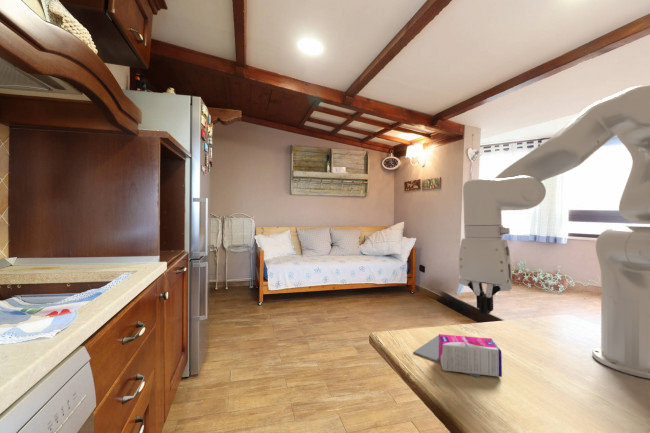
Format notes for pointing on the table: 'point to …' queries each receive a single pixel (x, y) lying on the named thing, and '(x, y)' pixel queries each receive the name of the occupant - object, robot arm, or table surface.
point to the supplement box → (470, 355)
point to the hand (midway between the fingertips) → (485, 312)
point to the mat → (433, 352)
